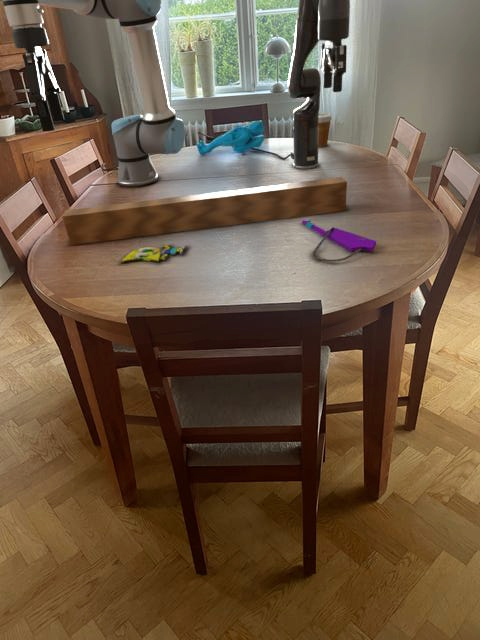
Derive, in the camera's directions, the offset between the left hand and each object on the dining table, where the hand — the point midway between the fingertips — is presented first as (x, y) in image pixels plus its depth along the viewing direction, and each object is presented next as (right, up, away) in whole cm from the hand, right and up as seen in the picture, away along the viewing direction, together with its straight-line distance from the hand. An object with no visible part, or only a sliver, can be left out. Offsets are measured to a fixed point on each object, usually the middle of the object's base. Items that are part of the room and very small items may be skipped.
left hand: (54, 125), depth 121 cm
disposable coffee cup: (+82, +27, +88) cm, 123 cm away
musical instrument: (+70, -30, +2) cm, 76 cm away
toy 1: (+25, -32, +5) cm, 41 cm away
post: (+38, -21, +20) cm, 48 cm away
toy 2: (+43, +24, +88) cm, 101 cm away
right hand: (+71, +11, +5) cm, 72 cm away
